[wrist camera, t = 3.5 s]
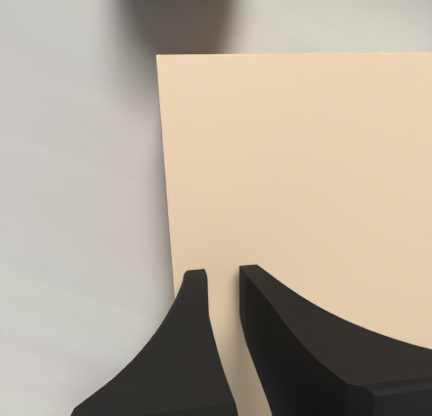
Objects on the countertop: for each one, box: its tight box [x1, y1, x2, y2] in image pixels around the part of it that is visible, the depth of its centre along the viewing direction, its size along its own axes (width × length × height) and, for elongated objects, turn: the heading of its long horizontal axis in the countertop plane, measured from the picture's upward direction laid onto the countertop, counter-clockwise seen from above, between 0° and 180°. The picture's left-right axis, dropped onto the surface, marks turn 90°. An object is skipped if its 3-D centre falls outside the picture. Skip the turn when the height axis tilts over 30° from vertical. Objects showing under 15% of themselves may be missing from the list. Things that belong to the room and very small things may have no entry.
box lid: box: [156, 52, 432, 416], centre depth 13 cm, size 12×15×1 cm
